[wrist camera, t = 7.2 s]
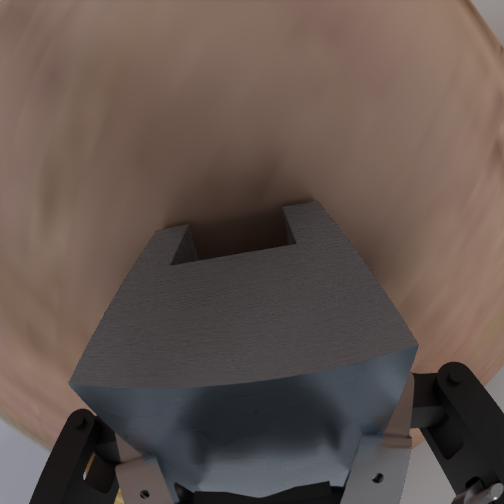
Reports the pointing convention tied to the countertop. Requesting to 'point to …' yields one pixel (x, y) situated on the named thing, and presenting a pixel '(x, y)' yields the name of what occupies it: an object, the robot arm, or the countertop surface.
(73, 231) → the countertop surface
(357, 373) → the notched metal block
